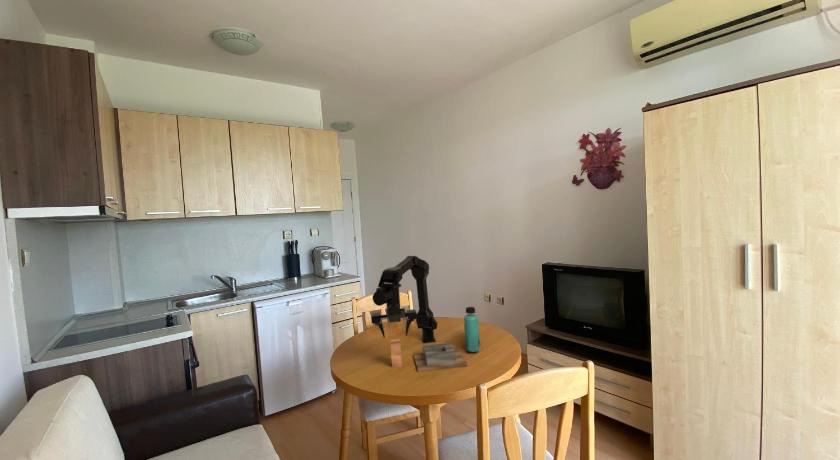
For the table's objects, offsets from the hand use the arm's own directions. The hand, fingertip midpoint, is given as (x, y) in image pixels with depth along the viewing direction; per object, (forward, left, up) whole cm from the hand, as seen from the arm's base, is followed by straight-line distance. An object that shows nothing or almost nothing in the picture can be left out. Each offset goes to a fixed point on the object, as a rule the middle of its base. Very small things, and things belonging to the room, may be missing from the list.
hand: (395, 336), depth 146 cm
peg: (0, 0, -12) cm, 12 cm away
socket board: (+1, +18, -12) cm, 21 cm away
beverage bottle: (-4, +34, -12) cm, 36 cm away
